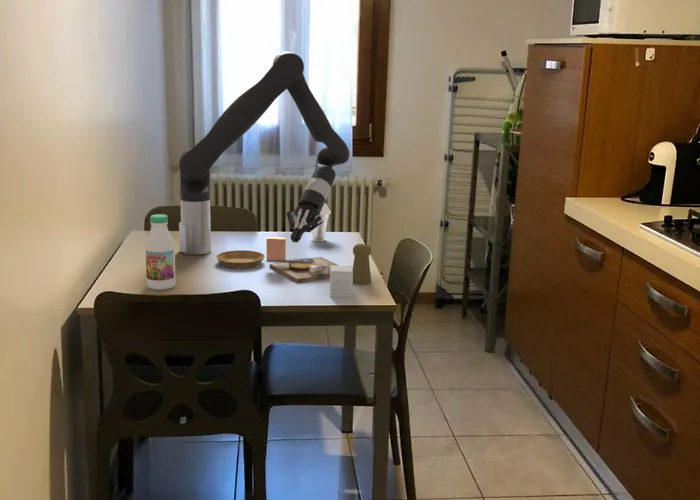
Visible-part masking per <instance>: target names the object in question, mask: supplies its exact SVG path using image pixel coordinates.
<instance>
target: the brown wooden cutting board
mask: <svg viewBox="0 0 700 500" xmlns="http://www.w3.org/2000/svg"><path fill="white" fill-rule="evenodd" d="M310 258H311V259H313V260H314V261H315V265H312V266H309V269H306V270H299V269H293V268H290V267H289V263H278V262H269V268H270V269H272V270H274V271H275V272H277V273H278V274H281V275H283V276H284V277H286V278H288V279H290V280H292V281H293V282H295V283H297V284H301V283H305V282H311V281H312V282H314V281H320V280H325V279H330V266H331V265H338V264H337V263H336V262H334V261H331V260H329V259H326V258H325V257H323V256H318V257H317V256H316V257H315V256H314V257H310Z"/></svg>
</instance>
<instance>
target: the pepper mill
mask: <svg viewBox="0 0 700 500" xmlns="http://www.w3.org/2000/svg"><path fill="white" fill-rule="evenodd" d="M352 253H353V256H354V258H353V264H352V270H353V285H359V286H362V285H369V284H371V283H372V275H371V274H372V273H371V266H370V256H371V253H372V249H371V246H370V245H369V244H365V243H357V244H355V245H354V246H353V248H352Z"/></svg>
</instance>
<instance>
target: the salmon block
mask: <svg viewBox="0 0 700 500" xmlns="http://www.w3.org/2000/svg"><path fill="white" fill-rule="evenodd" d="M286 240H287V238H286V237H275V236H274V237H273V236H272V237H271V236H270V237H269V236H268V237H266V263H277V262H278V263H289V267H290V268H293V269H299V270H306V269H309V266H312V265H315V261H314V260H313V259H311V258H312V257H303V258H290V257H289V258H288V257H286V256H287V255H286V253H287V252H286V248H287V245H286V244H287V241H286Z"/></svg>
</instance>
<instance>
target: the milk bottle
mask: <svg viewBox="0 0 700 500" xmlns="http://www.w3.org/2000/svg"><path fill="white" fill-rule="evenodd" d="M168 219H169V217H168V215H167V214H164V213H163V214H161V213H160V214H159V213H158V214H157V213H156V214H152V215H150V217H149V221H150V225H151V226H150V231H149V234H148V236H147V239H146V243H145V270H146V271H145V272H146V287H147V288H148V289H150V290H153V291H163V290H170V289H173V288H175V286H176V282H177V281H176V261H175V259H176V258H175V257H176V256H175V253H176V252H175V243H174V240H173V238H172V236H171V232H170V231H169V229H168V224H169V223H168V221H169V220H168Z"/></svg>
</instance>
